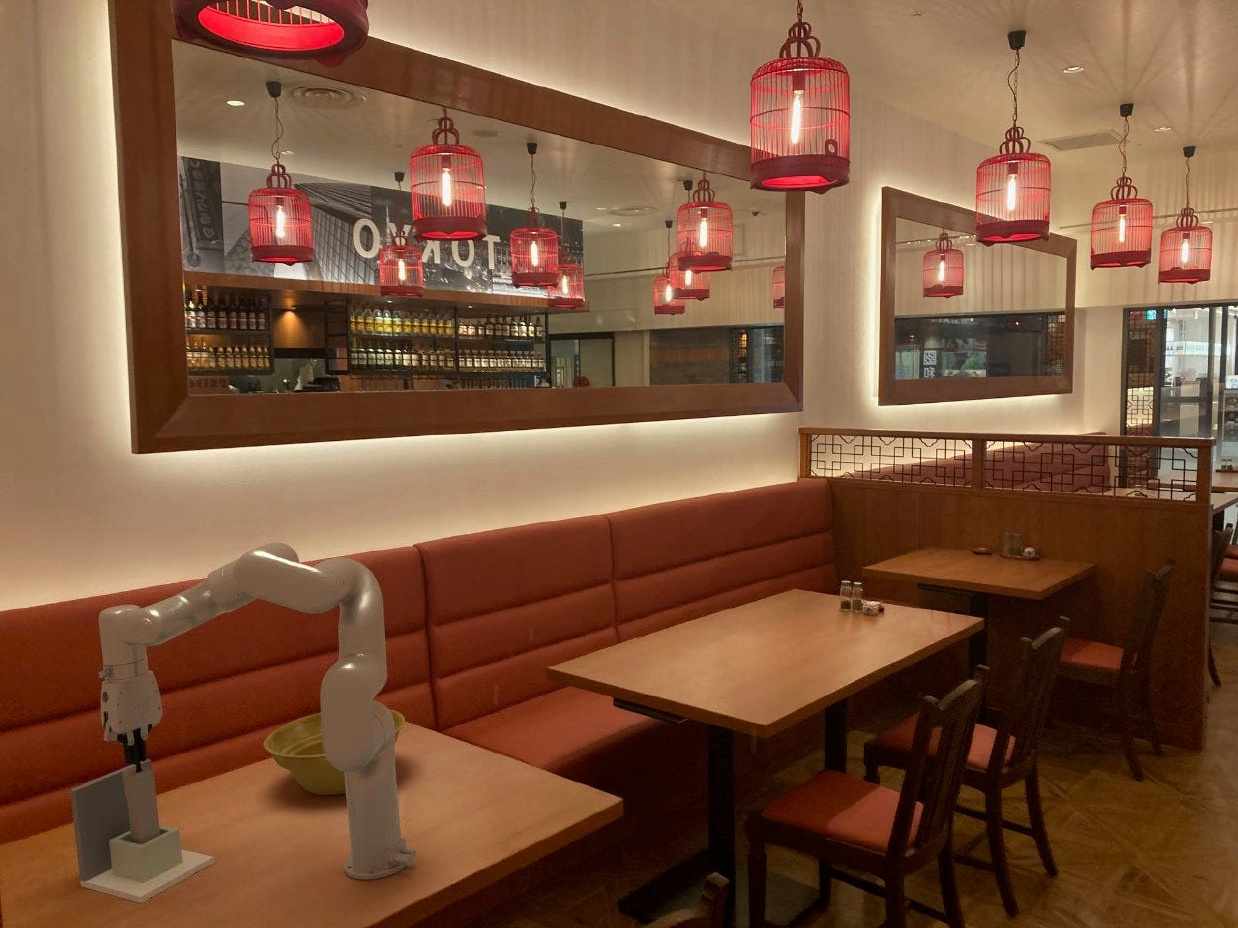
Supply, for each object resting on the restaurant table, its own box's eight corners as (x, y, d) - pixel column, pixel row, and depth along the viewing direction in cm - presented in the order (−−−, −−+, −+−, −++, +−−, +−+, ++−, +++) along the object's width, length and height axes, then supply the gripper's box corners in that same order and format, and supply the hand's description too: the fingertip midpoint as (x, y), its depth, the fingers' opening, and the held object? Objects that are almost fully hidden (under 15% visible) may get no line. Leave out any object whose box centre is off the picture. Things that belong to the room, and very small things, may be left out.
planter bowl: (337, 823, 200) (331, 762, 199) (239, 800, 217) (233, 744, 216) (437, 767, 228) (432, 714, 227) (343, 751, 244) (338, 701, 243)
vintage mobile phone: (149, 846, 186) (136, 724, 184) (162, 852, 183) (149, 728, 181) (130, 854, 183) (117, 730, 181) (143, 860, 180) (129, 734, 178)
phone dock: (214, 862, 186) (204, 768, 185) (140, 903, 172) (130, 802, 171) (155, 848, 194) (145, 758, 193) (80, 885, 180) (70, 789, 179)
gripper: (101, 682, 172) (111, 779, 173) (174, 660, 186) (183, 750, 187) (76, 679, 176) (86, 774, 177) (149, 657, 189) (159, 746, 190)
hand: (136, 761), depth 182 cm, fingers closed on vintage mobile phone, 1 cm apart
